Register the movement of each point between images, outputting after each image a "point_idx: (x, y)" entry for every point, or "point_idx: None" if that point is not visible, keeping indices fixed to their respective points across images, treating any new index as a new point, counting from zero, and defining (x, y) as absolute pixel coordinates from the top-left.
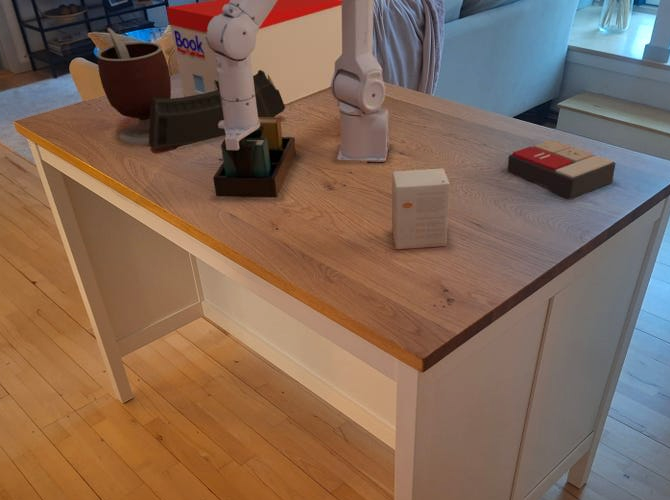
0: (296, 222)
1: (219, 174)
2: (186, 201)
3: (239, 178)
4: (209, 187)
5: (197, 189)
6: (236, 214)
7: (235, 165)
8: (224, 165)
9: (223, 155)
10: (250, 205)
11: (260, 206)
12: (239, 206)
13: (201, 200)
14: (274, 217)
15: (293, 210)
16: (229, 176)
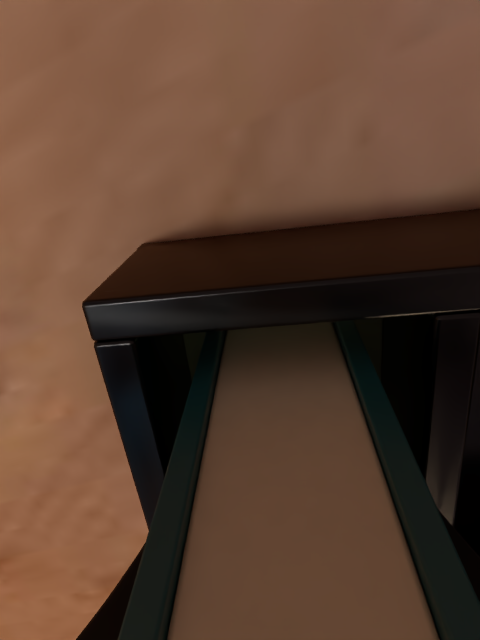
0: (45, 620)
1: (171, 333)
2: (29, 8)
3: (142, 498)
4: (310, 107)
5: (260, 3)
6: (6, 416)
7: (131, 575)
8: (177, 442)
9: (147, 557)
10: (119, 449)
11: (124, 491)
12: (91, 404)
13: (86, 139)
14: (49, 557)
15: None
16: (141, 433)
